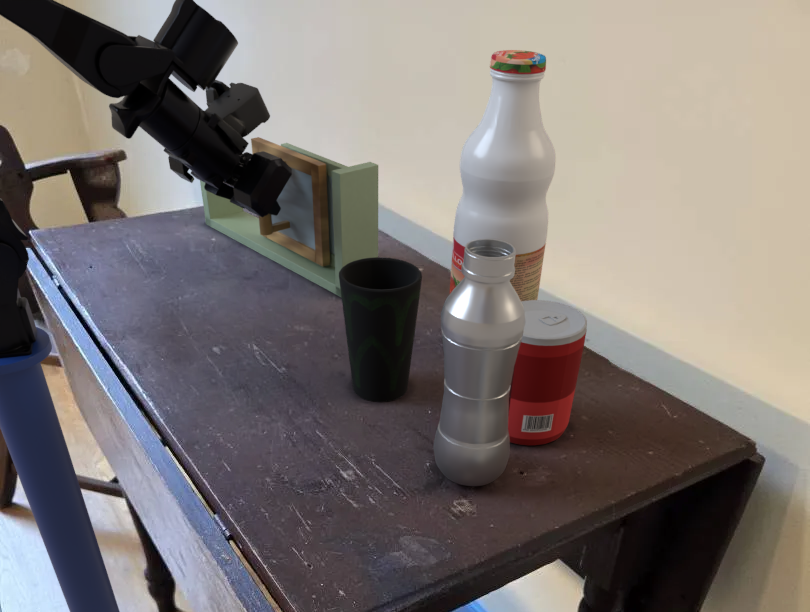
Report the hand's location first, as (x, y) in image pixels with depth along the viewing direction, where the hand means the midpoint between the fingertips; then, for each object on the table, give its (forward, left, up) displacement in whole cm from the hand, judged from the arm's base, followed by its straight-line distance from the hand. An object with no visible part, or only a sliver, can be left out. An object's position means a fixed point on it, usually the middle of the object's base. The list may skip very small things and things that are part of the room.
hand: (273, 209), depth 97 cm
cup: (+5, -33, -7) cm, 34 cm away
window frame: (+2, +4, -7) cm, 8 cm away
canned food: (+17, -43, -7) cm, 47 cm away
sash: (0, 0, -6) cm, 6 cm away
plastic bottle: (+9, -49, -7) cm, 50 cm away
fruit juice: (+19, -27, -7) cm, 34 cm away
